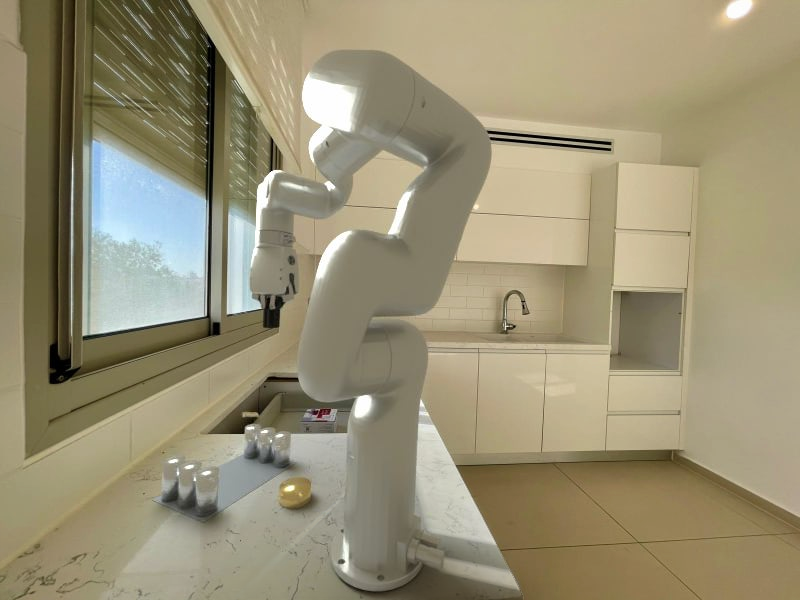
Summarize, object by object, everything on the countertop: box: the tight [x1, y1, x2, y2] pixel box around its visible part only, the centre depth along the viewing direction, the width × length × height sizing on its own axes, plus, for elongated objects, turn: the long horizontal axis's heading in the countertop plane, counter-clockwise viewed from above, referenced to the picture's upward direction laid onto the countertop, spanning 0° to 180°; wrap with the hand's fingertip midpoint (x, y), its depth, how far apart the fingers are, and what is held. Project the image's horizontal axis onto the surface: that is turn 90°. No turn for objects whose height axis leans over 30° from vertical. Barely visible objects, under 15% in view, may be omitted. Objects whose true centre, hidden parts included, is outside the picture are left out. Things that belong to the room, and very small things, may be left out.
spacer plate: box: [151, 453, 297, 523], centre depth 60 cm, size 12×20×1 cm, turn 157°
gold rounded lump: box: [278, 476, 312, 510], centre depth 54 cm, size 5×5×3 cm
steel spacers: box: [161, 423, 292, 517], centre depth 60 cm, size 11×19×6 cm, turn 157°
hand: (271, 327), depth 71 cm, fingers closed
